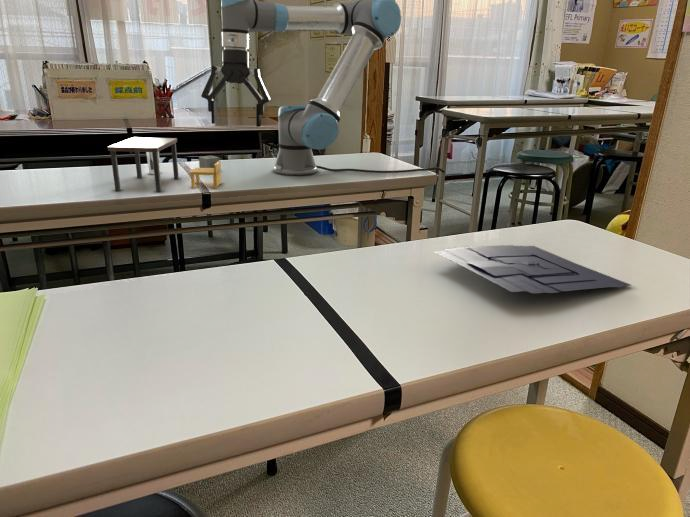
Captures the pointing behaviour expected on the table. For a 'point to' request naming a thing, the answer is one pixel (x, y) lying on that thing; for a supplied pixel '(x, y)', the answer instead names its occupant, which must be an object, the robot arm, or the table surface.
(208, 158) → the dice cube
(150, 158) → the milkshake
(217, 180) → the chair
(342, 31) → the robot arm
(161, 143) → the little table
